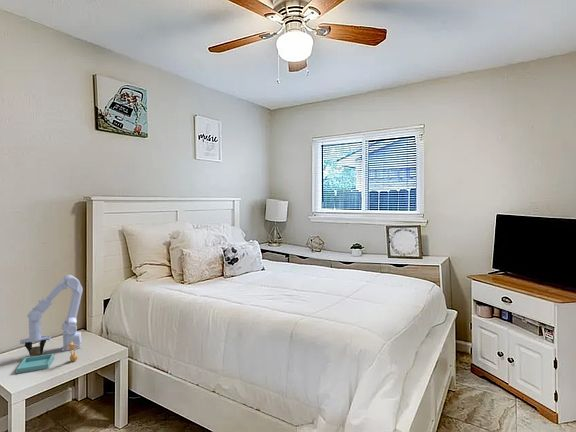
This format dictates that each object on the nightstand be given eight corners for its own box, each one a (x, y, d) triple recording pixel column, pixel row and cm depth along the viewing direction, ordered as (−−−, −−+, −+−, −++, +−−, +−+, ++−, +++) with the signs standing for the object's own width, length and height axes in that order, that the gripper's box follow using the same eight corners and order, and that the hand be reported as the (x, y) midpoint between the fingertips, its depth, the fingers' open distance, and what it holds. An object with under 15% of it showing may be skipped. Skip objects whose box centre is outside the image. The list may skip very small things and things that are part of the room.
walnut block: (42, 354, 209) (41, 345, 209) (40, 357, 205) (39, 348, 205) (33, 355, 207) (32, 347, 207) (30, 358, 203) (30, 350, 203)
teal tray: (54, 357, 204) (54, 353, 204) (48, 368, 191) (48, 364, 191) (25, 362, 199) (24, 357, 199) (16, 373, 186) (16, 369, 186)
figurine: (83, 358, 203) (82, 338, 202) (79, 363, 197) (78, 342, 196) (67, 359, 201) (66, 339, 201) (62, 364, 195) (61, 343, 195)
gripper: (51, 326, 212) (52, 349, 212) (22, 330, 206) (23, 353, 207) (48, 330, 205) (49, 353, 206) (18, 334, 200) (19, 358, 200)
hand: (36, 354), depth 206 cm, fingers closed on walnut block, 4 cm apart
